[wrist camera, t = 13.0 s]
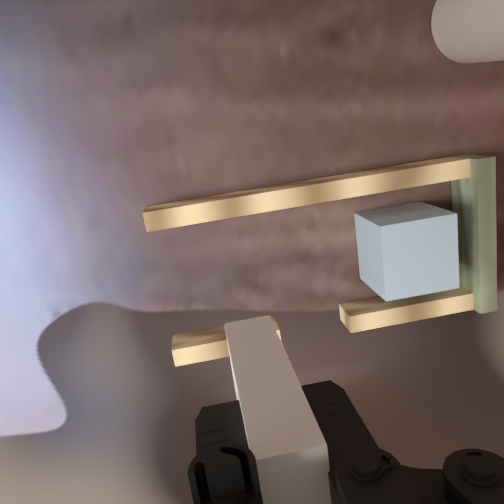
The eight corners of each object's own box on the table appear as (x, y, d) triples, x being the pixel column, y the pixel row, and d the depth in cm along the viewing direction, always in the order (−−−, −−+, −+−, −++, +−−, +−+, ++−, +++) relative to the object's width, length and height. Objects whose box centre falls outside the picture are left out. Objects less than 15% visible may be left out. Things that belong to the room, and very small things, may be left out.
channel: (176, 350, 42) (174, 372, 38) (146, 206, 39) (141, 215, 35) (470, 294, 44) (497, 310, 40) (467, 153, 41) (495, 156, 37)
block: (360, 278, 43) (385, 301, 37) (354, 212, 41) (380, 226, 35) (424, 266, 43) (459, 287, 37) (420, 201, 42) (457, 213, 36)
